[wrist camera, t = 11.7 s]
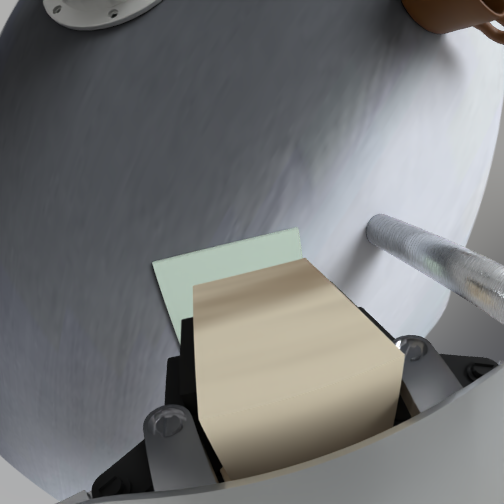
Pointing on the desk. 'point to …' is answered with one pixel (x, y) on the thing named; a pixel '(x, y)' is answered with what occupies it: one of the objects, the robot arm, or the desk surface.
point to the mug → (458, 15)
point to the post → (443, 262)
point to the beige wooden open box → (288, 369)
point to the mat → (220, 267)
